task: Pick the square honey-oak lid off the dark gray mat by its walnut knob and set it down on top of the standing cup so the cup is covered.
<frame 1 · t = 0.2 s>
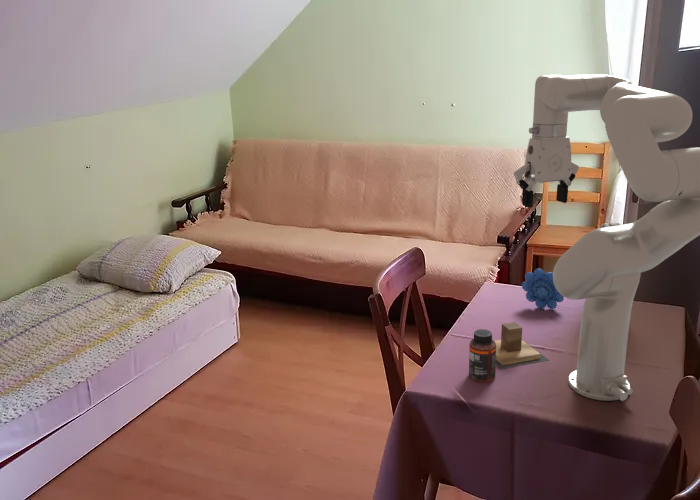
hand: (544, 204, 149), 36 cm above the table, tool pointing down, fingers open, 9 cm apart
blue flower shape: (541, 310, 179), on the table
decorative candle: (605, 311, 177), on the table
oak lid: (510, 352, 154), resting on dark gray mat
dark gray mat: (510, 354, 154), on the table
supplement bottle: (481, 378, 144), on the table
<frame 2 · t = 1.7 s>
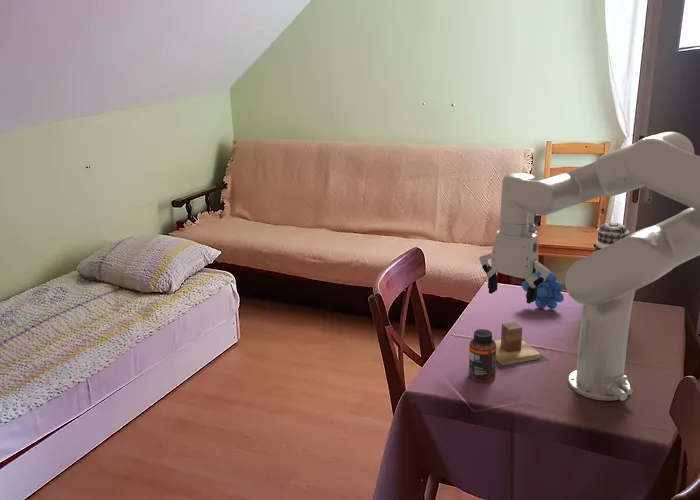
hand: (511, 296, 150), 15 cm above the table, tool pointing down, fingers open, 9 cm apart
nothing on the table moved.
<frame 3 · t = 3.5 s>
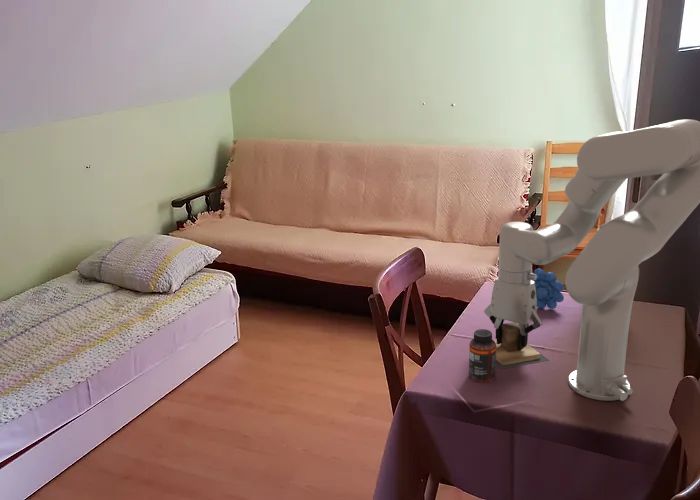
hand: (511, 344, 153), 3 cm above the table, tool pointing down, fingers closed on oak lid, 4 cm apart
oak lid: (510, 352, 154), resting on dark gray mat, touching gripper
everything else where it was.
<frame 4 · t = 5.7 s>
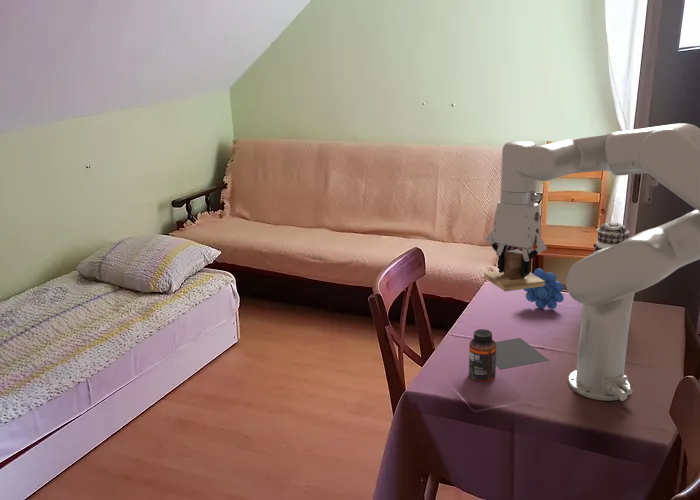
hand: (514, 272, 147), 21 cm above the table, tool pointing down, fingers closed on oak lid, 4 cm apart
oak lid: (513, 281, 148), point 19 cm above the table, touching gripper
everything else where it was.
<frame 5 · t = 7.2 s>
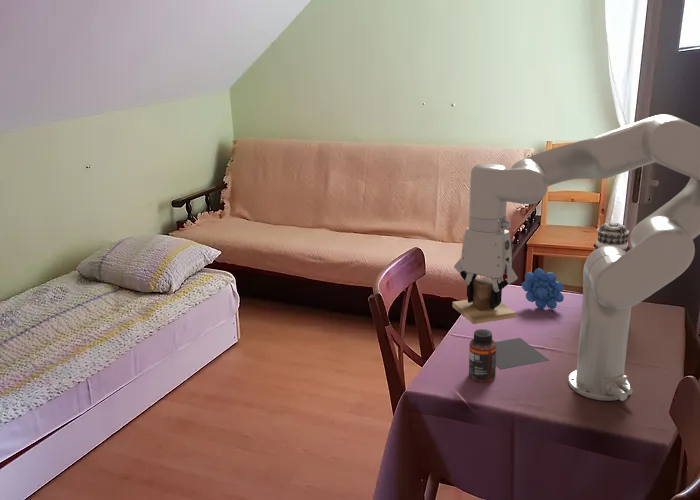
hand: (483, 302, 138), 18 cm above the table, tool pointing down, fingers closed on oak lid, 4 cm apart
oak lid: (483, 312, 139), point 16 cm above the table, touching gripper
everything else where it was.
when the fingers open (15 cm above the table, at t = 8.2 s): oak lid drops 1 cm, resting on supplement bottle.
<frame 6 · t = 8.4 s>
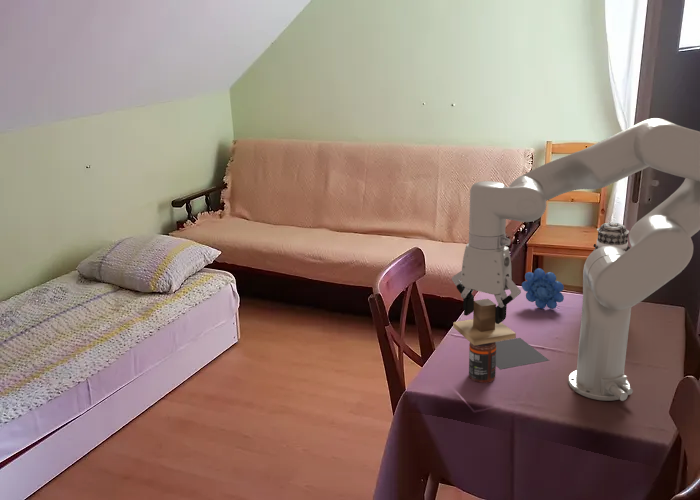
hand: (484, 317, 139), 15 cm above the table, tool pointing down, fingers open, 7 cm apart
oak lid: (483, 332, 140), point 11 cm above the table, touching supplement bottle
supplement bottle: (481, 378, 144), on the table, touching oak lid
everything else where it was.
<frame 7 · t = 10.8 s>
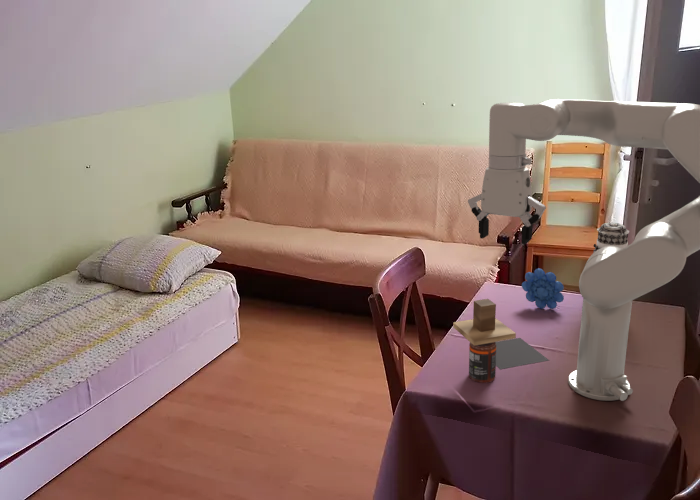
hand: (504, 239, 139), 31 cm above the table, tool pointing down, fingers open, 9 cm apart
nothing on the table moved.
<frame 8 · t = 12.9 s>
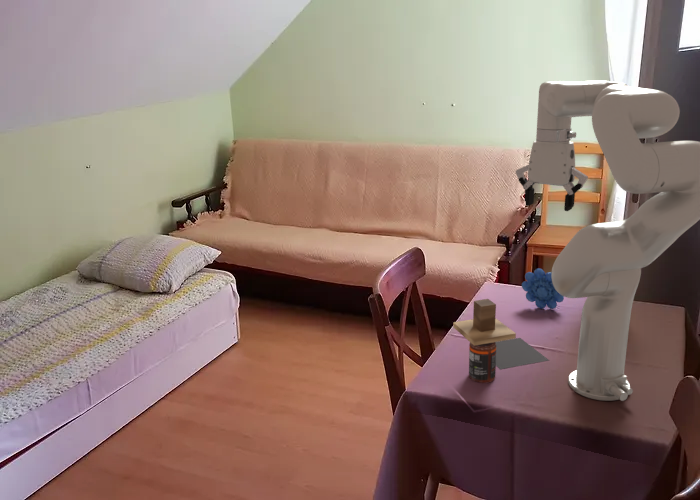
hand: (548, 207, 152), 34 cm above the table, tool pointing down, fingers open, 9 cm apart
nothing on the table moved.
at the end: oak lid 0.0 cm from the supplement bottle (horizontally); oak lid point 11.3 cm above the table; supplement bottle tilted 0° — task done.
